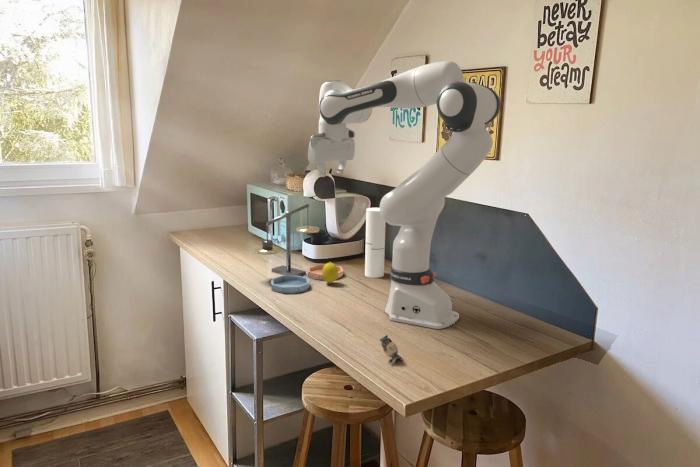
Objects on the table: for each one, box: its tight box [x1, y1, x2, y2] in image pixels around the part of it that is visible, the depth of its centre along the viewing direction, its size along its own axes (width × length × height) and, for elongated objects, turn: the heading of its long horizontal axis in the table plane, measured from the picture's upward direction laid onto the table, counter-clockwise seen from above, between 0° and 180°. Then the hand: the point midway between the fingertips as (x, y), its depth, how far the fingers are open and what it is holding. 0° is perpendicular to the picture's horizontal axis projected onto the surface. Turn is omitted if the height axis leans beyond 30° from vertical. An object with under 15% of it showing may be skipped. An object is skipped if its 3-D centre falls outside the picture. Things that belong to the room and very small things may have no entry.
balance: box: [254, 203, 320, 277], centre depth 202 cm, size 31×12×25 cm, turn 143°
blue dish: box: [270, 275, 310, 295], centre depth 188 cm, size 13×13×2 cm
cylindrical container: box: [364, 207, 386, 279], centre depth 202 cm, size 7×7×25 cm
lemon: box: [322, 261, 338, 284], centre depth 192 cm, size 6×6×8 cm
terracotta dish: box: [306, 263, 344, 281], centre depth 203 cm, size 13×13×2 cm
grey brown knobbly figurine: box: [379, 334, 404, 365], centre depth 135 cm, size 5×5×6 cm
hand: (331, 175), depth 179 cm, fingers open, 8 cm apart
